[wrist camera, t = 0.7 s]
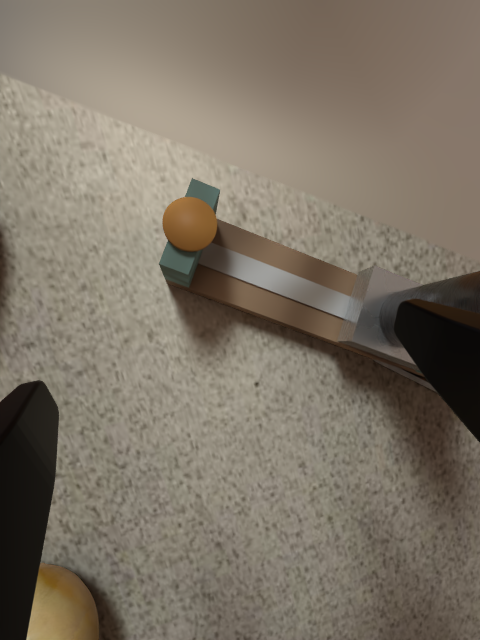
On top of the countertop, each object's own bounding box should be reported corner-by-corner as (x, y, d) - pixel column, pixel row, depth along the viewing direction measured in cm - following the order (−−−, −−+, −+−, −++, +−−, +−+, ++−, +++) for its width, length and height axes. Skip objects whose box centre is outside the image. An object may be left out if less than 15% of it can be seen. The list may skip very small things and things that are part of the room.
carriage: (433, 302, 23) (743, 250, 10) (415, 370, 22) (719, 406, 9) (358, 272, 22) (587, 174, 9) (337, 341, 22) (550, 338, 9)
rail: (443, 317, 25) (519, 309, 19) (426, 378, 25) (500, 389, 19) (183, 214, 23) (181, 169, 17) (158, 280, 22) (146, 257, 16)
